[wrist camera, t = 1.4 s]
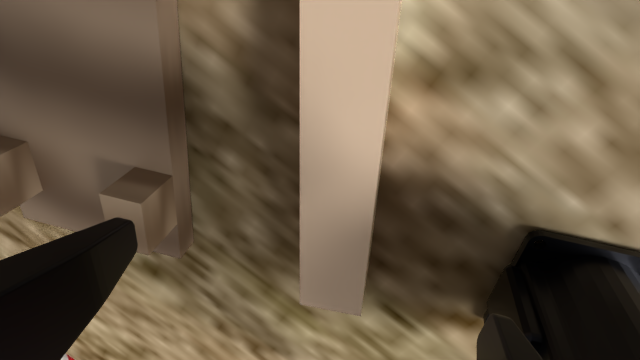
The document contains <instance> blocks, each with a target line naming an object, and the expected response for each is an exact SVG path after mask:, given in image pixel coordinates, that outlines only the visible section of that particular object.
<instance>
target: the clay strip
mask: <svg viewBox="0 0 640 360" xmlns="http://www.w3.org/2000/svg"><path fill="white" fill-rule="evenodd" d="M401 5H402V0H300V304H301V305H306V306H311V307H316V308H321V309H326V310H331V311H337V312H342V313H347V314H352V315H357V316H361V312H362V306H363V300H364V293H365V287H366V281H367V275H368V268H369V260H370V252H371V244H372V236H373V228H374V220H375V212H376V204H377V196H378V188H379V180H380V172H381V164H382V157H383V149H384V141H385V133H386V125H387V117H388V109H389V101H390V93H391V85H392V77H393V69H394V61H395V53H396V45H397V37H398V29H399V21H400V13H401Z"/></svg>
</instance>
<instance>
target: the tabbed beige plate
mask: <svg viewBox="0 0 640 360" xmlns="http://www.w3.org/2000/svg"><path fill="white" fill-rule="evenodd" d="M19 205H20V208H21V210H22V213H23V216H24V218H27V219H31V220H34V221H38V222H42V223H46V224H50V225H54V226H57V227H61V228H65V229H69V230H73V231H76V232H78V231H80V230H83V229H86V228H88V227H91V226H94V225H96V224H99V223H102V222H104V221H107V220H110V219H113V218H116V217H120V218H124V219H128V220H131V221H133V223H134V225H135V230H136V236H137V242H138V248H137V251H136V252H137V253H141V254H145V255H150V254H151V253H152V252H157V253H160V254H164V255H168V256H172V257H176V258H180V259H181V257H182V256H183V255H184V254H185V252H186V251H187V250H188V249H189V247H190V246H191V245H192V243H193V242H194V238H193V224H192V209H191V195H190V180H189V166H188V152H187V137H186V123H185V108H184V94H183V80H182V65H181V51H180V36H179V22H178V7H177V0H0V216H1V217H2V216H3V215H5V214H6V213H8V212H9V211H11V210H13V209H14V208H16V207H17V206H19Z"/></svg>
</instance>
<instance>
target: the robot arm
mask: <svg viewBox="0 0 640 360" xmlns="http://www.w3.org/2000/svg"><path fill="white" fill-rule="evenodd" d="M538 240H543V241H542V242H541V243H534V242H535V241H538ZM137 248H138V242H137V236H136V230H135V225H134V223H133V221H131V220H128V219H124V218H120V217H116V218H113V219H110V220H107V221H104V222H102V223H99V224H96V225H94V226H91V227H88V228H86V229H83V230H80V231H78V232H75V233H72V234H70V235H67V236H64V237H62V238H59V239H56V240H54V241H51V242H48V243H46V244H43V245H40V246H38V247H35V248H32V249H29V250H27V251H24V252H21V253H19V254H16V255H13V256H11V257H8V258H5V259H3V260H0V360H61V358H62V357H63V356H64V355H65V353H66V352H67V351H68V349H69V348H70V347H71V346H72V344H73V343H74V342H75V340H76V339H77V338H78V337H79V335H80V334H81V333H82V331H83V330H84V329H85V327H86V326H87V325H88V324H89V322H90V321H91V320H92V318H93V317H94V316H95V315H96V313H97V312H98V311H99V309H100V308H101V307H102V305H103V304H104V302H105V301H106V299H107V298H108V297H109V295H110V293H111V292H112V290H113V289H114V287H115V285H116V284H117V282H118V281H119V279H120V277H121V276H122V274H123V273H124V271H125V270H126V268H127V266H128V265H129V263H130V262H131V260H132V258H133V257H134V255H135V253H136V251H137ZM487 305H488V308H487V310H486V312H485V314H484V317H483V319H484V326H483V328H482V330H481V332H480V333H479V335H478V339H477V360H640V252H636V251H631V250H627V249H622V248H618V247H613V246H609V245H605V244H600V243H596V242H591V241H587V240H582V239H578V238H573V237H569V236H564V235H560V234H556V233H551V232H547V231H542V230H536V231H532V232H530V233H528V235H527V236H526V237H525V239H524V241H523V243H522V245H521V247H520V249H519V250H518V252H517V254H516V256H515V258H514V260H513V262H512V263H511V265H509V266H507V267H506V268H505V269H504V270H503V272H502V274H501V276H500V278H499V280H498V282H497V284H496V285H495V287H494V289H493V291H492V293H491V295H490V297H489V299H488V301H487Z"/></svg>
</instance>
